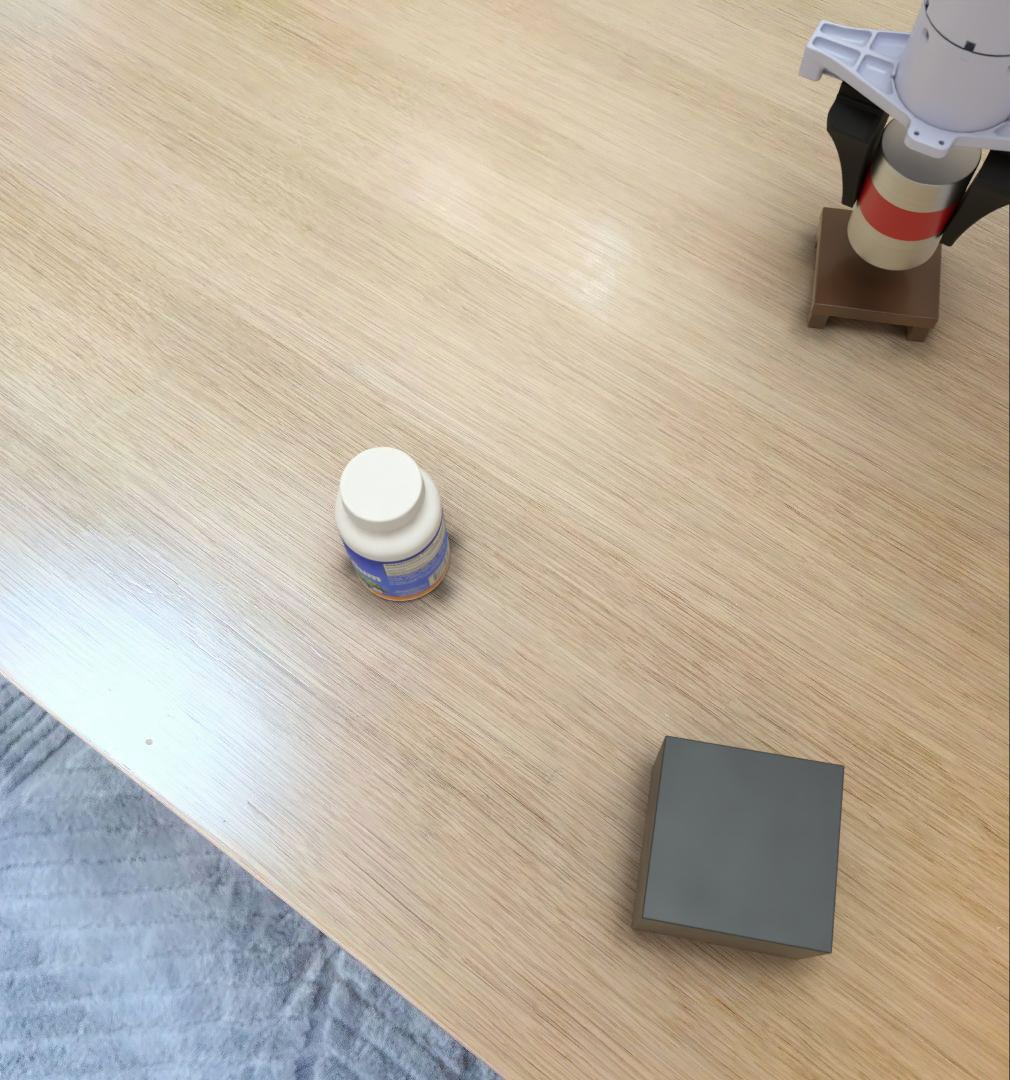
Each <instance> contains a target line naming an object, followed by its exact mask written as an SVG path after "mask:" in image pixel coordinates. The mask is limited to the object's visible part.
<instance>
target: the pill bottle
mask: <svg viewBox="0 0 1010 1080" xmlns="http://www.w3.org/2000/svg"><path fill="white" fill-rule="evenodd" d="M333 518H334V522H335V526H336V529H337V532H338V534H339V537H340V540H341V541H342V544H343V547H344V548H345V551H346V553H347V555H348V557H349V558H348V559H349V560H350V562H351V564H352V567H353V569H354V571H355V575H357V577H358V579H359V580H360V582H361V583H362V585H363V586H364V587H365V588H366V589H367V590H368V591H369V592H370V593H372V594H374V595H375V596H377V597H379V598H382V599H385V600H389V601H393V602H405V601H413V600H417V599H420V598H422V597H424V596H426V595H428V594H429V593H431V592H432V591H433V590H435V589H436V588H437V587H438V586H439V585H440V584H441V582H442V581H443V580H444V578H445V576H446V574H447V572H448V570H449V566H450V563H451V545H450V541H449V535H448V532H447V525H446V521H445V514H444V509H443V502H442V498H441V494H440V491H439V488H438V485H437V484H436V482H435V481H434V479H433V478H432V477H431V476H430V474H429V473H428V472H427V471H426V470H425V469H423V468H422V467H421V466H419V464H418V463H417V462H416V461H415V460H414V459H413V457H411V456H410V455H409V454H408V453H407V452H405V451H403V450H400V449H398V448H394V447H390V446H377V447H372V448H371V447H370V448H368V449H365V450H363V451H361V452H359V453H358V454H356V455H355V456H353V457H352V458H351V459H350V461H349V462H347V464H346V465H345V466H344V468H343V470H342V473H341V475H340V479H339V488H338V490H337V492H336V495H335V499H334V504H333Z"/></svg>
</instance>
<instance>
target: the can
mask: <svg viewBox="0 0 1010 1080" xmlns="http://www.w3.org/2000/svg"><path fill="white" fill-rule="evenodd" d="M906 133H907V128H906V127H905V126H903V125H902V124H901V123H899V122H898V121H897V120H896V119H894V118H893V117H892V119H890V121H888V122H887V123H886V125H885V128H884V130H883V132H882V135H881V137H880V140H879V143H878V145H877V148H876V151H875V153H874V156H873V158H872V160H871V163H870V165H869V168H868V171H867V173H866V176H865V179H864V181H863V184H862V187H861V190H860V193H859V196H858V198H857V200H856V202H855V204H854V206H853V208H852V210H853V211H852V214H851V217H850V219H849V222H848V228H847V232H848V238H849V241H850V244H851V246H852V247H853V249H854V250H855V252H856V253H857V254H858V255H859V256H860V257H861V258H862V259H864V260H865V261H866V262H868V263H870V264H872V265H874V266H876V267H879V268H882V269H886V270H897V271H899V270H907V269H912V268H915V267H917V266H919V265H921V264H923V263H924V262H926V261H927V260H928V259H929V258H930V257H931V256H932V255H933V253H934V252H935V250H936V248H937V246H938V244H939V241H940V239H941V237H942V235H943V233H944V231H945V229H946V227H947V225H948V223H949V222H950V220H951V219H952V217H953V215H954V213H955V211H956V209H957V208H958V206H959V204H960V202H961V200H962V198H963V196H964V194H965V192H966V190H967V189H968V187H969V186H970V184H971V182H972V180H973V177H974V175H975V173H976V171H977V169H978V167H979V165H980V163H981V160H982V155H983V153H982V152H983V149H979V148H969V147H958V146H953V147H951V148H950V150H949V152H948V154H947V155H946V156H945V157H943V158H933V157H930V156H928V155H925V154H923V153H920V152H917V151H915V150H912V149H910V148H908V147H907V146H906V145H905V143H904V138H905V135H906Z"/></svg>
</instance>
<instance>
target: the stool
mask: <svg viewBox="0 0 1010 1080" xmlns="http://www.w3.org/2000/svg"><path fill="white" fill-rule="evenodd" d="M852 211H853V209H847V208H838V207H830V206H823V207H822V209H821V213H820V216H819V220H818V227H817V229H816V233H815V240H814V247H815V248H816V250H815V251H816V252H815V262H814V274H813V283H812V285H813V286H812V293H811V294H812V296H811V303H810V304H811V305H810V308H809V310H808V312H807V313H808V314H807V322H806V323H807V324H806V325H807V327H809V328H816V329H825V327H826V324H827V321H828V319H829V317H835V318H842V319H843V318H844V319H852V320H859V321H867V322H874V323H883V324H889V325H898V326H905V327H906V340H907V341H915V342H921V343H922V342H923V343H924V342H925V340H926V338H927V337H928V335H929V334H930V331H931V330H933V329H935V327H936V325H937V323H938V322H939V319H940V299H941V297H940V295H941V274H942V251H943V244H941V243H939V244H938V246H937V248H936V250H935V252H934V253H933V255H932V256H931V257H930V258H929V259H928V260H927V261H926V262H924V263H923V264H921V265H919V266H917V267H915V268H912V269H907V270H899V271H897V270H886V269H882V268H879V267H876V266H874V265H872V264H870V263H868V262H866V261H865V260H864V259H862V258H861V257H860V256H859V255H858V254H857V253H856V252H855V250H854V249H853V247H852V246H851V244H850V241H849V238H848V232H847V228H848V222H849V219H850V217H851V214H852Z"/></svg>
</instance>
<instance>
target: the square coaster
mask: <svg viewBox="0 0 1010 1080" xmlns="http://www.w3.org/2000/svg"><path fill="white" fill-rule="evenodd" d="M651 768H652V769H651V775H650V784H649V792H648V799H647V807H646V813H645V820H644V829H643V837H642V844H641V851H640V858H639V859H640V860H639V867H638V873H637V880H636V881H637V882H636V889H635V895H634V896H635V897H634V904H633V912H632V920H631V925H630V926H631V929H632V930H636V931H642V932H647V933H653V934H658V935H663V936H668V937H675V938H680V939H685V940H689V941H690V940H691V941H696V942H701V943H705V944H711V945H716V946H723V947H727V948H733V949H737V950H743V951H750V952H754V953H758V954H763V955H769V956H774V957H781V958H786V959H791V960H795V961H799V960H804V959H809V958H814V957H815V958H816V957H821V956H827V955H831V954H833V942H834V940H833V939H834V929H835V928H834V927H835V915H836V913H835V912H836V900H837V899H836V898H837V885H838V883H837V882H838V870H839V869H838V868H839V854H840V840H841V839H840V838H841V827H842V825H841V824H842V811H843V810H842V809H843V795H844V782H845V768H846V767H845V765H844V764H843V765H842V764H837V763H831V762H825V761H819V760H815V759H808V758H802V757H796V756H789V755H784V754H778V753H773V752H766V751H760V750H755V749H748V748H743V747H738V746H732V745H725V744H721V743H719V744H718V743H715V742H714V743H713V742H708V741H703V740H696V739H691V738H684V737H679V736H672V735H664V738H663V741H662V743H661V745H660V748H659V750H658V752H657V755H656V757H655V760H654V762H653V764H652V767H651Z"/></svg>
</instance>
